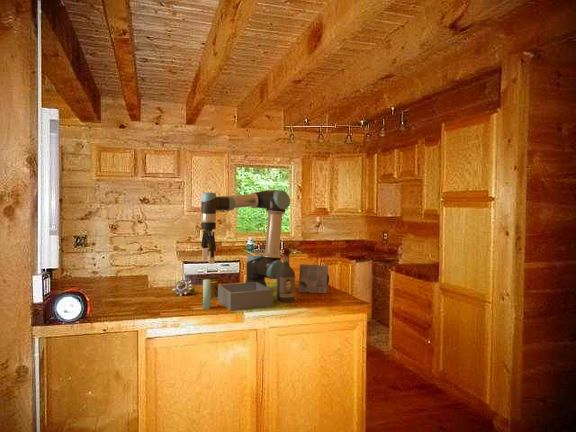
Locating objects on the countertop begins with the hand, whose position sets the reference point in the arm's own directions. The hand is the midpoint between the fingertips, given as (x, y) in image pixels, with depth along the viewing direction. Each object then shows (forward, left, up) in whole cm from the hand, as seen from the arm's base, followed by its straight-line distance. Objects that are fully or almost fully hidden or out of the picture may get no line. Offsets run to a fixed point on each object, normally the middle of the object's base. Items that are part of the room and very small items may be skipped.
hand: (208, 261), depth 209 cm
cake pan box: (-13, +72, -25) cm, 77 cm away
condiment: (-26, +9, -25) cm, 37 cm away
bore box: (-3, +22, -25) cm, 33 cm away
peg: (-1, 0, -25) cm, 25 cm away
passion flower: (-37, -5, -25) cm, 45 cm away
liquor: (0, +46, -25) cm, 52 cm away
